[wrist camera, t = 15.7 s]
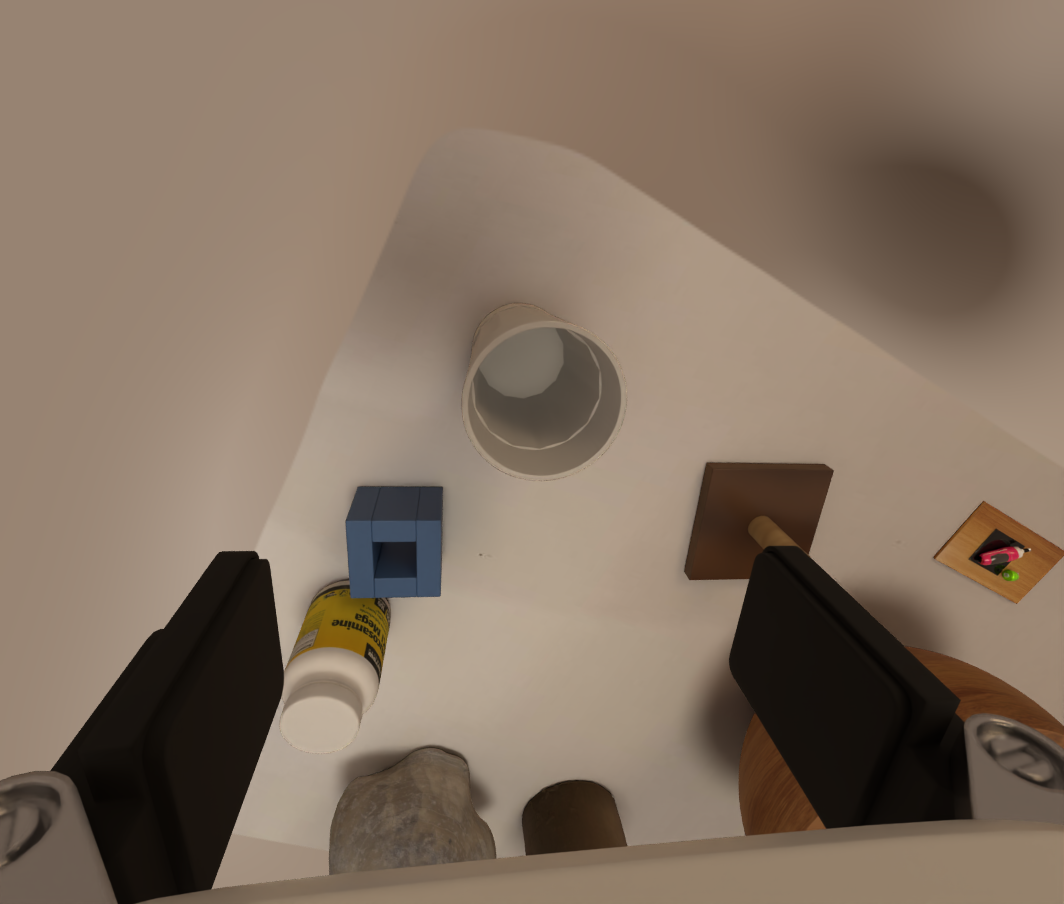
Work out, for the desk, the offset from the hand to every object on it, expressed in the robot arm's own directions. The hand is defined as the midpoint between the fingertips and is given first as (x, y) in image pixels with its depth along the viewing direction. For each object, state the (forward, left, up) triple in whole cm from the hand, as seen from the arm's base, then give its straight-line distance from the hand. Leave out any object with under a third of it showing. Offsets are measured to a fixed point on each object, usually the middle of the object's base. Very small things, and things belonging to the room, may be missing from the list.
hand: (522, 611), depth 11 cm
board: (+18, +48, -28) cm, 58 cm away
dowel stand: (+14, +23, -28) cm, 39 cm away
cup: (+1, +3, -28) cm, 29 cm away
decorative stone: (+42, -4, -28) cm, 51 cm away
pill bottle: (+22, -9, -28) cm, 37 cm away
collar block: (+14, -5, -28) cm, 32 cm away
